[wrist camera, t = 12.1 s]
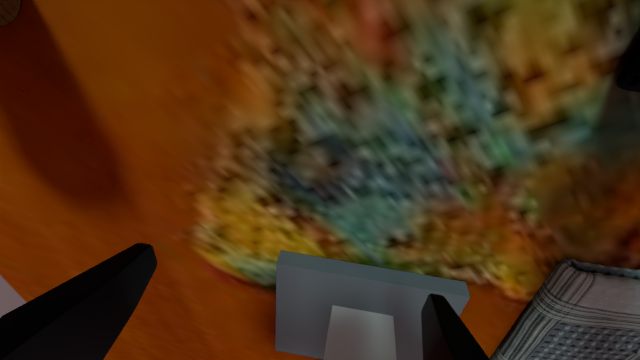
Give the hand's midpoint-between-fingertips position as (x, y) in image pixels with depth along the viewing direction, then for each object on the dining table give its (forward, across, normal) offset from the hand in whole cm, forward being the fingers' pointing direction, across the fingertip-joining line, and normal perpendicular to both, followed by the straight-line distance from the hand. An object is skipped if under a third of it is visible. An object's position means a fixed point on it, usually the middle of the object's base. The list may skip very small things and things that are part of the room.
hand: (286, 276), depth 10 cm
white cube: (+10, -5, +19) cm, 22 cm away
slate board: (+12, -5, +19) cm, 23 cm away
